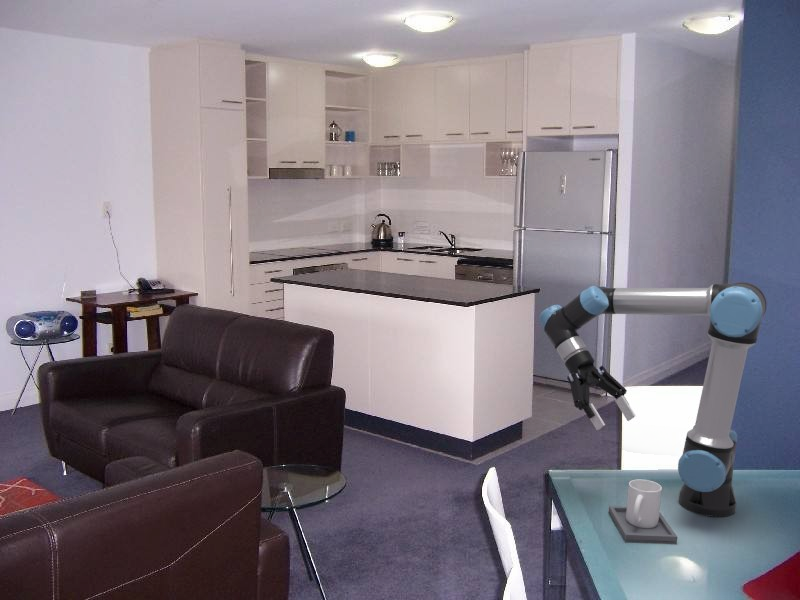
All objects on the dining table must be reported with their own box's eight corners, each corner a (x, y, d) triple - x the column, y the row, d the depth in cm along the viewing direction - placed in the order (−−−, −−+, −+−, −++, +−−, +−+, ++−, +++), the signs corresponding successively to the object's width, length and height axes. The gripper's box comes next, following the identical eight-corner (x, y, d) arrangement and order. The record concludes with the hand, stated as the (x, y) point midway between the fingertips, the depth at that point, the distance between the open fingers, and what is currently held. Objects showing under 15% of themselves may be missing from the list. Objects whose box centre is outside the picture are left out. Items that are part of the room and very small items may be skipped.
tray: (656, 514, 222) (656, 507, 221) (676, 544, 205) (677, 536, 205) (608, 513, 222) (609, 506, 221) (625, 542, 205) (625, 534, 205)
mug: (649, 537, 206) (653, 499, 204) (617, 528, 211) (620, 491, 209) (661, 520, 216) (665, 484, 215) (630, 512, 221) (634, 476, 219)
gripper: (595, 357, 236) (634, 421, 227) (538, 369, 220) (578, 438, 212) (611, 343, 231) (653, 408, 222) (554, 354, 215) (596, 424, 207)
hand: (616, 423), depth 217 cm, fingers open, 13 cm apart
